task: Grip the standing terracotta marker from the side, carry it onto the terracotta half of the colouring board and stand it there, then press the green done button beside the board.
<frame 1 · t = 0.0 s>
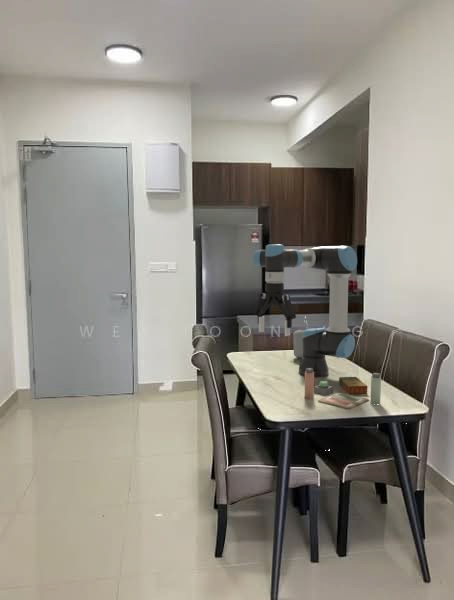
hand: (274, 333, 189), 28 cm above the table, tool pointing down, fingers open, 13 cm apart
terracotta marker: (309, 397, 195), on the table
carton: (352, 390, 208), on the table
button housing: (323, 392, 203), on the table
colouring board: (343, 401, 191), on the table
sage marker: (375, 403, 187), on the table
done button: (323, 384, 203), point 3 cm above the table, slide at 0.0 cm
jar: (305, 358, 271), on the table
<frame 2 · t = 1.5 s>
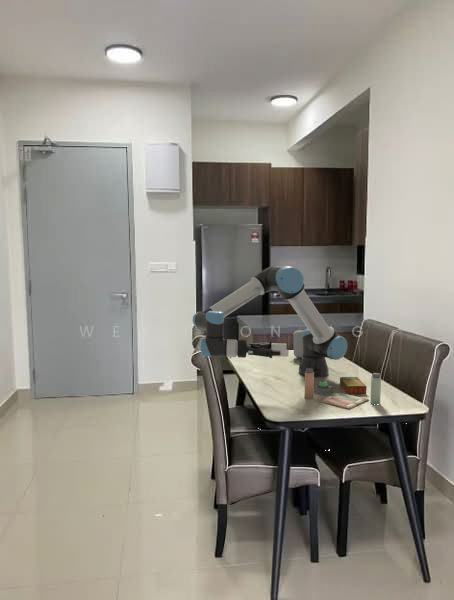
hand: (287, 349, 194), 20 cm above the table, tool horizontal, fingers open, 13 cm apart
nothing on the table moved.
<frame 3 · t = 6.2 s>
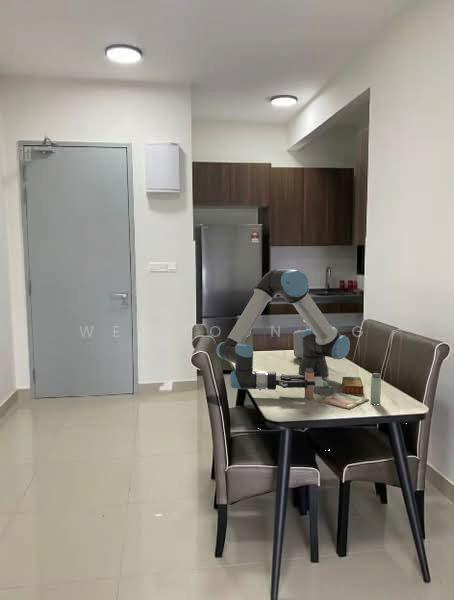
hand: (322, 381, 194), 7 cm above the table, tool horizontal, fingers closed on terracotta marker, 4 cm apart
terracotta marker: (309, 397, 195), on the table, touching gripper
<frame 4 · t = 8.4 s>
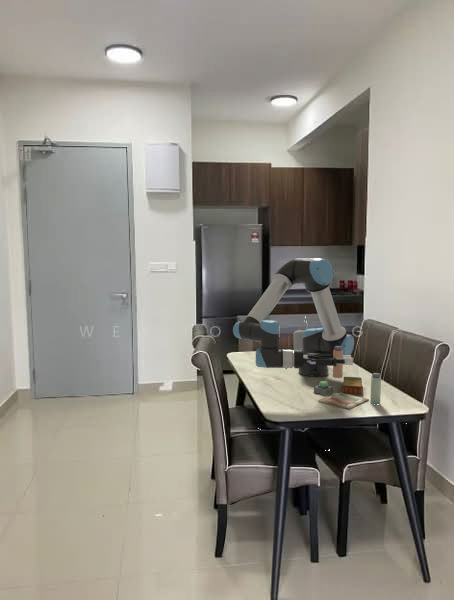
hand: (351, 360, 186), 18 cm above the table, tool horizontal, fingers closed on terracotta marker, 4 cm apart
terracotta marker: (337, 376, 187), point 11 cm above the table, touching gripper
when the fingers open (9 cm above the table, at t = 10.8 s): terracotta marker drops 1 cm, resting on colouring board.
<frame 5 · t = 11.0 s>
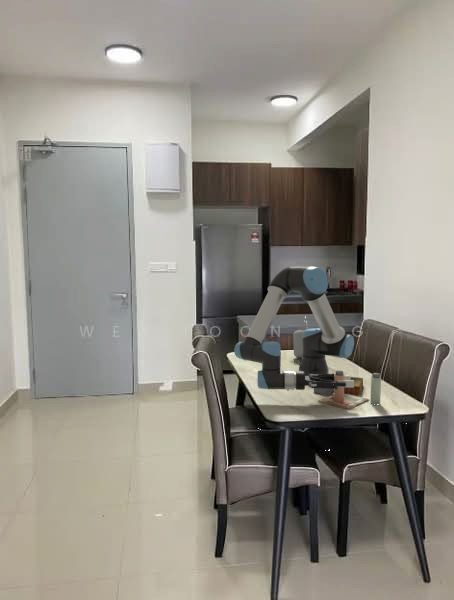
hand: (352, 381, 187), 9 cm above the table, tool horizontal, fingers open, 7 cm apart
terracotta marker: (338, 401, 188), point 1 cm above the table, touching colouring board
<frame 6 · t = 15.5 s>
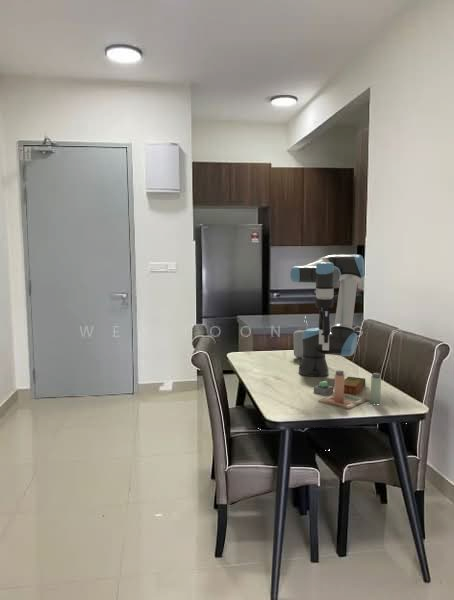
hand: (323, 347, 201), 20 cm above the table, tool pointing down, fingers open, 12 cm apart
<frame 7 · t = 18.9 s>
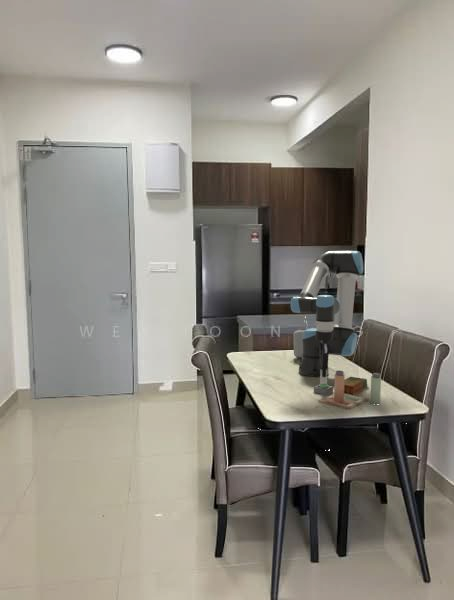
hand: (323, 383, 203), 4 cm above the table, tool pointing down, fingers closed
done button: (323, 386, 203), point 3 cm above the table, slide at 0.7 cm, touching gripper
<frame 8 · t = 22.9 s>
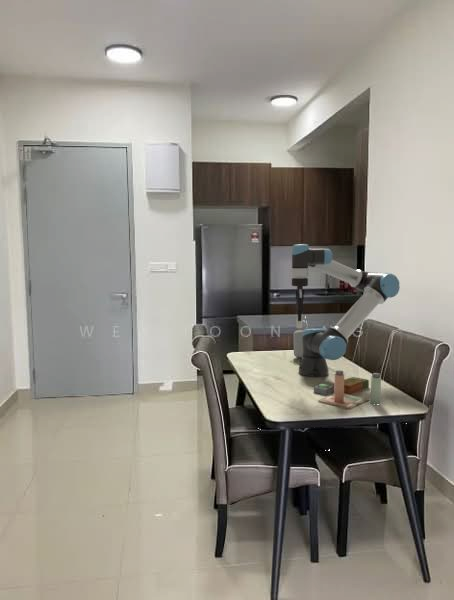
hand: (299, 327, 216), 26 cm above the table, tool pointing down, fingers closed
done button: (323, 387, 203), point 2 cm above the table, slide at 1.2 cm
at the end: terracotta marker inside the target area (0.3 cm from its centre), point 0.8 cm above the table; terracotta marker tilted 0°; done button slide at 1.2 cm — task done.
